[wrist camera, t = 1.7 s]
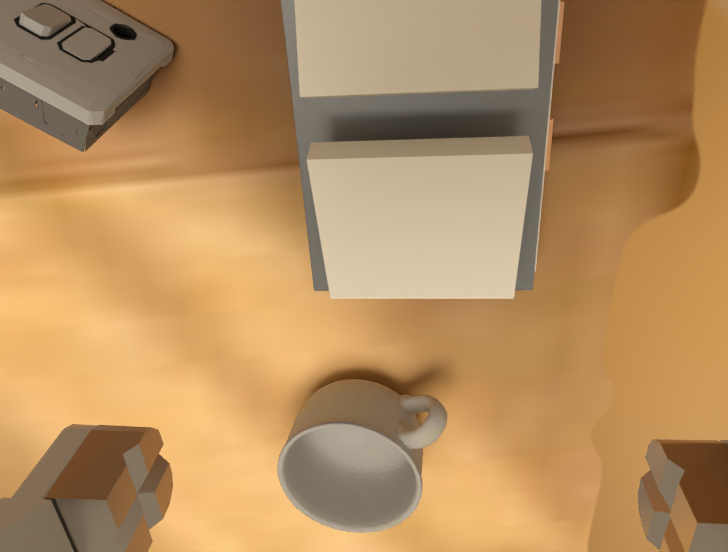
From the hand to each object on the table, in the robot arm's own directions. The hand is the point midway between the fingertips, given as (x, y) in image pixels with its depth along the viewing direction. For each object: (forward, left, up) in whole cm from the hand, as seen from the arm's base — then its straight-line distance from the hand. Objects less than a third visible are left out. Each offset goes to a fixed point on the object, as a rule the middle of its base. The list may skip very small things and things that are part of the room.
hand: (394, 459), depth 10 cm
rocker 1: (-6, 0, -24) cm, 25 cm away
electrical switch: (-3, -20, -31) cm, 37 cm away
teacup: (+26, -4, -31) cm, 41 cm away
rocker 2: (+6, 0, -24) cm, 25 cm away
